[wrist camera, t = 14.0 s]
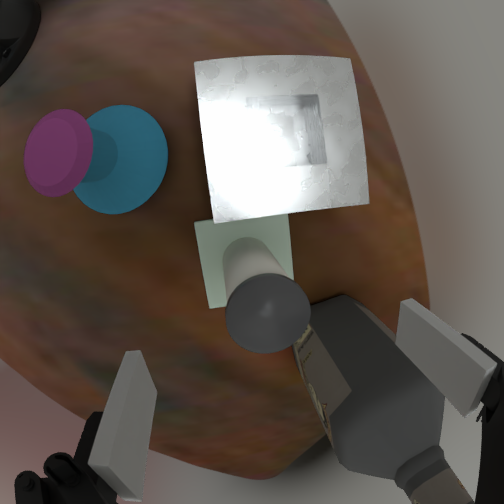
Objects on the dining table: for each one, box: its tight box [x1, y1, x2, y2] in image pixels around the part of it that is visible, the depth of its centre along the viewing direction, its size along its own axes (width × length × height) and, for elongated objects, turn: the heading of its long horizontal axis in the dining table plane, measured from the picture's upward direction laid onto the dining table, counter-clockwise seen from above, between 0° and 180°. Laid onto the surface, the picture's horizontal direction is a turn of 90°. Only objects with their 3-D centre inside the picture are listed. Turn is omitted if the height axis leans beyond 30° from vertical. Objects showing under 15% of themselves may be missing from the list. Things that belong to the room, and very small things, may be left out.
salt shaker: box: [222, 237, 311, 353], centre depth 23 cm, size 5×5×12 cm
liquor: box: [292, 295, 475, 504], centre depth 19 cm, size 9×9×30 cm
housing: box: [194, 55, 369, 224], centre depth 24 cm, size 13×13×6 cm
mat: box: [194, 213, 294, 309], centre depth 29 cm, size 9×9×1 cm
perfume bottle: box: [24, 105, 168, 214], centre depth 18 cm, size 9×9×15 cm
